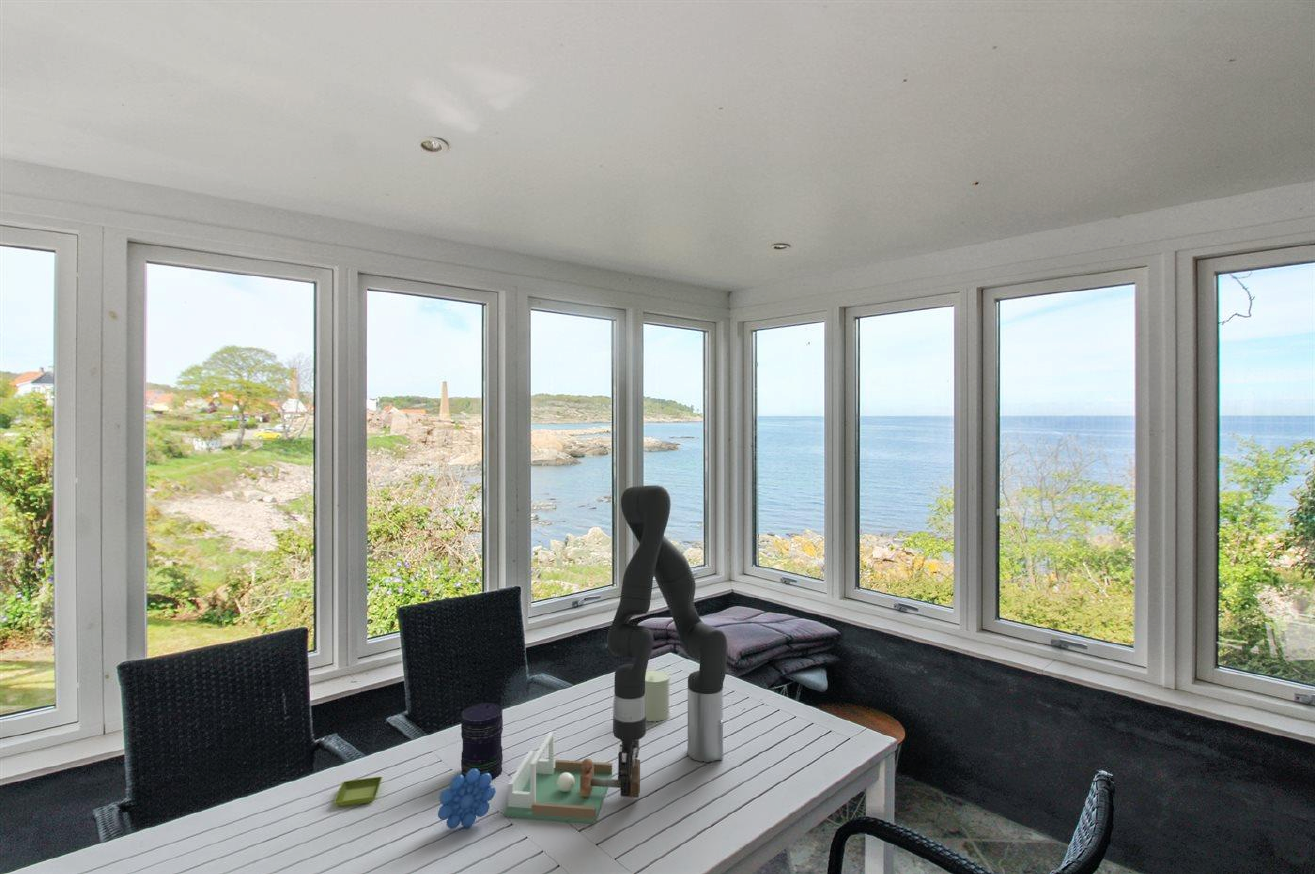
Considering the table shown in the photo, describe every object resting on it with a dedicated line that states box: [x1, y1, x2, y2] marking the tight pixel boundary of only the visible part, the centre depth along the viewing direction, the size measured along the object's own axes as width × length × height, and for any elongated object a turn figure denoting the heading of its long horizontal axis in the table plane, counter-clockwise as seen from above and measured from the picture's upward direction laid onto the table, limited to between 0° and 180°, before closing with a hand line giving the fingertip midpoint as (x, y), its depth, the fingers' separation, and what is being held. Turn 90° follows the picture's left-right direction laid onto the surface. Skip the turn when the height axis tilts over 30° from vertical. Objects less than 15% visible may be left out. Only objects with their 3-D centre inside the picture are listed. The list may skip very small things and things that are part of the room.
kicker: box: [580, 758, 641, 799], centre depth 141 cm, size 13×5×7 cm, turn 83°
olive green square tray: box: [333, 776, 383, 807], centre depth 142 cm, size 9×9×2 cm
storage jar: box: [460, 702, 504, 781], centre depth 152 cm, size 10×10×15 cm
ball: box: [557, 772, 575, 792], centre depth 143 cm, size 4×4×4 cm
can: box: [645, 670, 671, 723], centre depth 185 cm, size 9×9×12 cm
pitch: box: [504, 731, 613, 825], centre depth 143 cm, size 20×19×11 cm
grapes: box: [437, 768, 496, 830], centre depth 132 cm, size 12×7×12 cm, turn 108°
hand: (629, 784), depth 141 cm, fingers open, 8 cm apart
